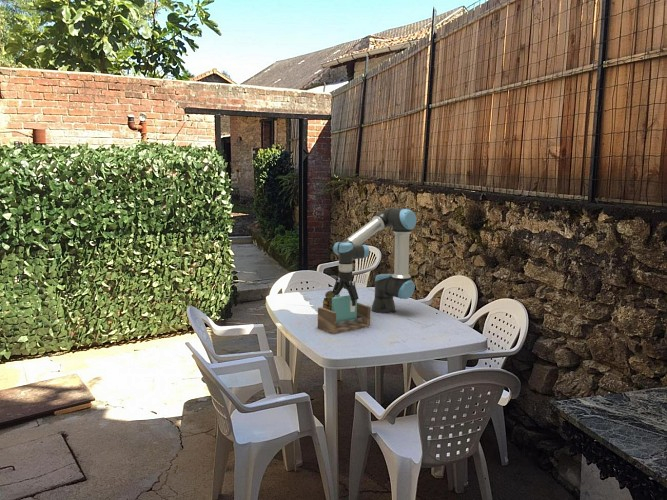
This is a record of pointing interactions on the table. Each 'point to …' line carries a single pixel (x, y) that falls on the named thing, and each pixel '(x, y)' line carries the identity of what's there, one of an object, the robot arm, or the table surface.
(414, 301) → the table surface
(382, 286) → the robot arm
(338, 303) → the door panel
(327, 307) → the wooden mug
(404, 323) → the table surface
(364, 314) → the wooden rack
